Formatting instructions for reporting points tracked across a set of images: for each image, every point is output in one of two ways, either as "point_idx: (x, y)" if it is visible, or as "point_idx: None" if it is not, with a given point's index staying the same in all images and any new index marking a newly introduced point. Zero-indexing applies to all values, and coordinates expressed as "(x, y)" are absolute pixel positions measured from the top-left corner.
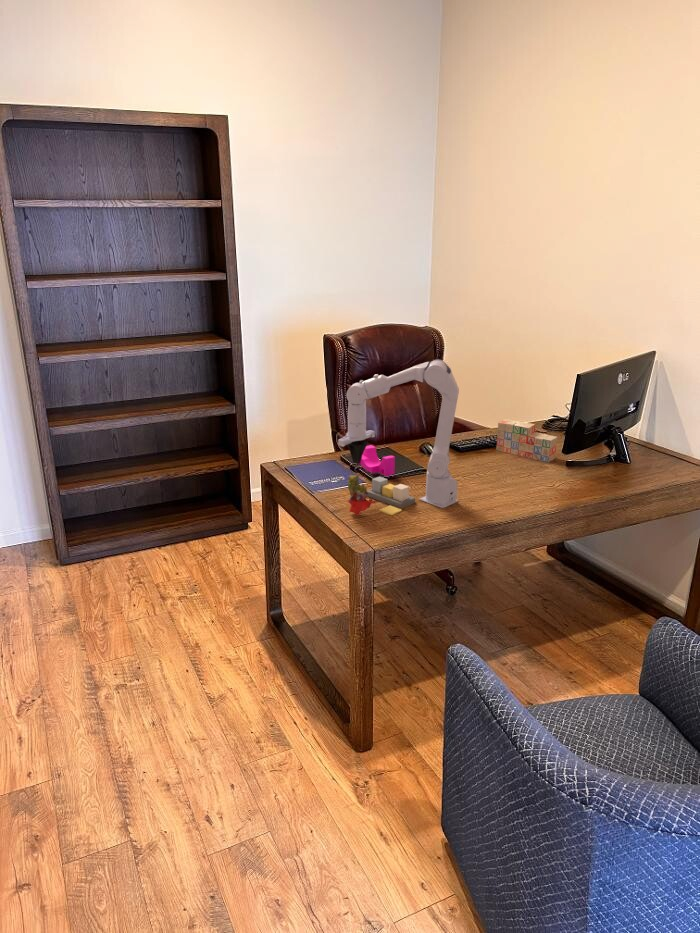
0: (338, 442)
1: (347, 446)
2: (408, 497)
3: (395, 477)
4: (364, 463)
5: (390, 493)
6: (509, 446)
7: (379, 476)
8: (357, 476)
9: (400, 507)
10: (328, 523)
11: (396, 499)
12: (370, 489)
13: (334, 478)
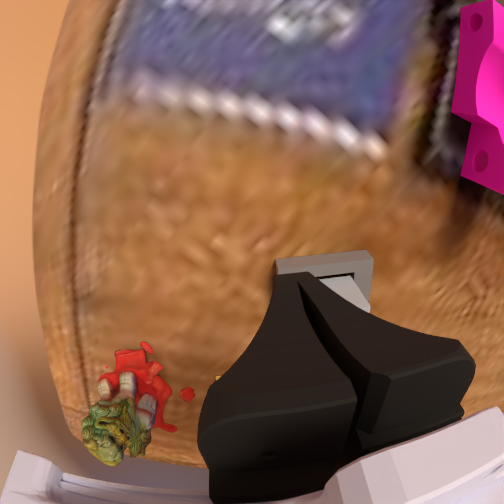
0: (9, 480)
1: (230, 369)
2: None
3: (484, 194)
4: (482, 56)
5: None
6: None
7: (370, 306)
8: (115, 465)
9: None
10: (46, 343)
11: None
12: (307, 270)
13: (310, 4)
